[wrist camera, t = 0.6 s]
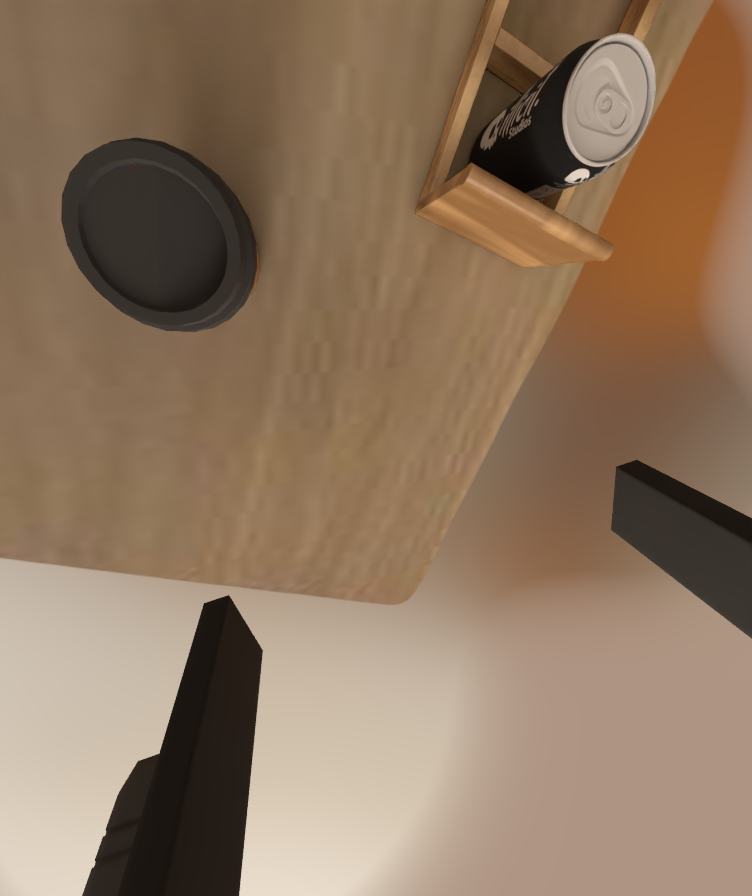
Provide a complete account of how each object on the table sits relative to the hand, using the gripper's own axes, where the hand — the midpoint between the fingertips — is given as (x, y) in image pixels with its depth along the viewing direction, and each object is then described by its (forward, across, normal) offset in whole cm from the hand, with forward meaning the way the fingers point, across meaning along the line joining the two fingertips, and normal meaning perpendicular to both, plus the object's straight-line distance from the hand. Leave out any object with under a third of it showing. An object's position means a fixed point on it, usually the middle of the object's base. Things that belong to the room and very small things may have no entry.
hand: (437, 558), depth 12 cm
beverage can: (+27, +18, +14) cm, 35 cm away
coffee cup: (+27, -7, +12) cm, 30 cm away
